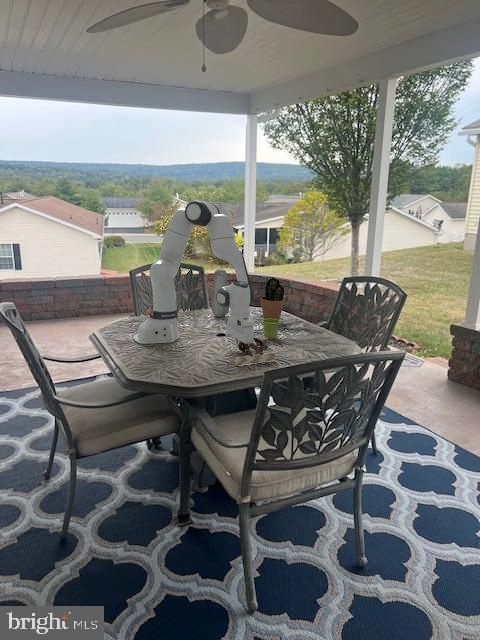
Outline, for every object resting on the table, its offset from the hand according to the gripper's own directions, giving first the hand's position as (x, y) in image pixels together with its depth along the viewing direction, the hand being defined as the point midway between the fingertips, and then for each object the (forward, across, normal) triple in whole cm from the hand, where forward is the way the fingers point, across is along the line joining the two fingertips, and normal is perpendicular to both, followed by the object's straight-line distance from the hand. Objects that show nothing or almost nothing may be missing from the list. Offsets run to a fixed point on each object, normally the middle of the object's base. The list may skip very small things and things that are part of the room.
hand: (238, 347), depth 206 cm
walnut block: (+2, -3, +14) cm, 14 cm away
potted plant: (+2, -42, +42) cm, 60 cm away
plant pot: (+2, -14, +25) cm, 29 cm away
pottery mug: (+2, +4, +4) cm, 6 cm away
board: (+2, +17, 0) cm, 17 cm away
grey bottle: (+3, -61, +18) cm, 64 cm away
